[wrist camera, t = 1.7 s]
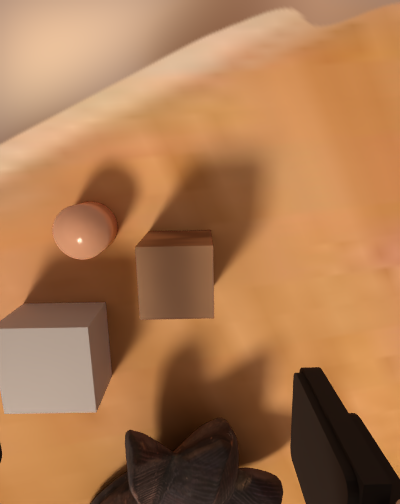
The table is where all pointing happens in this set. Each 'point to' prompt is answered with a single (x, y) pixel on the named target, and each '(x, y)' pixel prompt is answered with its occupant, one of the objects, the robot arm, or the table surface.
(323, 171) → the table surface
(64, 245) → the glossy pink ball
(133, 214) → the table surface
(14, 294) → the table surface
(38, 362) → the grey block
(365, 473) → the robot arm
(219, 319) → the table surface
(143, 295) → the brown metal block
